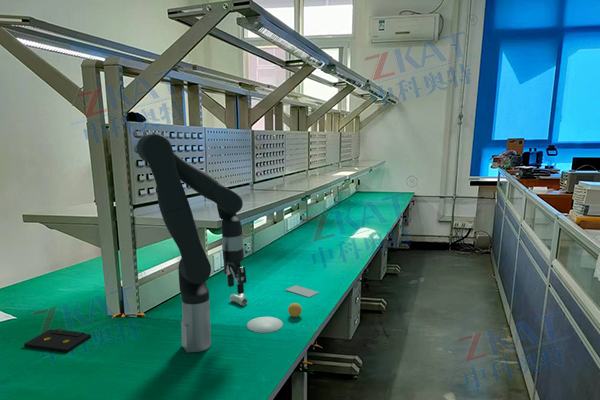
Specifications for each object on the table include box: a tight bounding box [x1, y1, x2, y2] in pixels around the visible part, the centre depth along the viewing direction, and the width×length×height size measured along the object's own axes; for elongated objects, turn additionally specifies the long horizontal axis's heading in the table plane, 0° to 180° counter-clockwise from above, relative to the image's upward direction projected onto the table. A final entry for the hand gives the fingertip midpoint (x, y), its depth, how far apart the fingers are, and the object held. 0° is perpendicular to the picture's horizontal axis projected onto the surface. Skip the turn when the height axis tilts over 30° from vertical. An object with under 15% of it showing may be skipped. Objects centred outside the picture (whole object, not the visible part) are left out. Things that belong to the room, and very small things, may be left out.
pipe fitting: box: [229, 293, 248, 307], centre depth 183 cm, size 8×4×7 cm
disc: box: [246, 316, 284, 334], centre depth 161 cm, size 14×14×1 cm
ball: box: [287, 302, 303, 318], centre depth 168 cm, size 6×6×6 cm
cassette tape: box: [23, 328, 92, 354], centre depth 147 cm, size 18×12×2 cm, turn 77°
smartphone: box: [284, 284, 320, 298], centre depth 196 cm, size 8×1×15 cm
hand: (235, 289), depth 150 cm, fingers open, 8 cm apart
